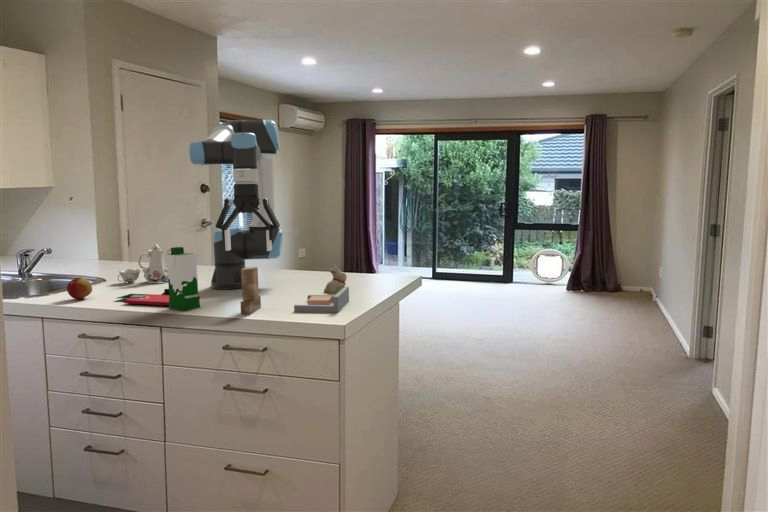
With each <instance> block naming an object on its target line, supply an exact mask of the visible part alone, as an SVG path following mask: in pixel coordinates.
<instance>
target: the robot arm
mask: <svg viewBox="0 0 768 512" xmlns="http://www.w3.org/2000/svg"><path fill="white" fill-rule="evenodd" d="M277 127H278V126H277V124H276V122H275V121H274V120H272V119H233V120H228V121H225V122H222V123H220V124H219V125H218V124H217V125H216V126H215V127H214V128H213V129H212V130H211V131H210V133H209V136H208V137H207V138H205V139H204V140H197V141H196V140H195V141H191V142H190V144H189V150H188V151H189V159H190V160H189V161H190V162H191V163H192V165H196V166H198V165H199V166H200V165H201V166H205V165H206V166H208V165H232V174H233V175H232V176H233V177H232V178H233V182H234V185H233V196H234V198H232V199H231V198H224V201H223V202H224V203H223V206H222V207H223V208H222V210H221V212H220V215H218V219H217V221H216V224H215V228H216V229H217V230H216V231H214V233H213V242H212V243H213V253H214V254H213V255H214V256H213V257H214V269H213V274H212V277H211V281H210V287H211V288H212V289H213V290H214V289H215V290H237V289H242V278H241V269H243V268H245V267H246V260H271V259H272V260H273V259H279V258H280V257H281V253H282V247H283V239H284V237H283V235H284V231H283V229H281V228H280V226H281V224H280V223H279V221H278V219H277V217H276V215H275V214H276V213H275V190H274V189H275V188H274V186H275V185H274V165H273V164H274V161H273V160H274V159H275V157H276V156H277V151H280V150H281V145H280V136H279V131H278V128H277ZM232 205H234V206H235V208H234V209H233V211H232V213H231V214H230V215H229V216H228V213H229V211H230V209H231V206H232ZM245 213H247V214H252V215H251V216H252V221H251V222H250V223H249V225H248V229H245V228H244V226H233V227H230V226H231V224H232V223H233V222H234V220H236V218H237V216H239V214H245ZM227 216H228V218H227ZM226 218H227V219H226Z"/></svg>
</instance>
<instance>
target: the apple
mask: <svg viewBox="0 0 768 512" xmlns="http://www.w3.org/2000/svg"><path fill="white" fill-rule="evenodd" d="M66 291H67V294H68V295H69V296H70V297H71V298H72V299H75V300H77V299H78V300H77V301H79V300H80V299H81V300H83V299H84V298H86V297H88V296H90V294H91V293H92V292H93V286H92V284H91V282H90V281H89V280H88V279H86V278H85V277H82V276H81V277H76V278H73V279H72V280H71V279H70V281H69V282H68V283H67V285H66Z"/></svg>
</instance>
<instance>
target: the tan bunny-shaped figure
mask: <svg viewBox="0 0 768 512" xmlns="http://www.w3.org/2000/svg"><path fill="white" fill-rule="evenodd" d="M329 273H331V275H332V280H330V281H328V282H327V283H326V285H325V287H324V289H323V292H324V293H326V294H327V293H328V294H331V293H332V294H333V293H334V294H337V293H338V292H339V291H340V290H341V289H342V288H344V287H346V285H347V283H346V281H347V278H348V277H347V274H346V273H345V272H343V271H341V269H339V267H337V266H336V265H333V267H332V268H330V269H329Z"/></svg>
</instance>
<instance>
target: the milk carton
mask: <svg viewBox="0 0 768 512" xmlns="http://www.w3.org/2000/svg"><path fill="white" fill-rule="evenodd" d="M170 249H171V250H170V254H168V255H166V254H165V255H164V258H165V259H164V260H165V265H167V269H168V282H167V284H168V289H169V305H168V308H169V309H170V310H174V311H180V312H185V311H189V310H190V311H191V310H192V309H197V308H201V303H200V299H199V286H198V284H199V283H198V261H199V254H198V253H194V252H185V250H184V249H185V248H184V247H182V246H175V247H171V248H170Z"/></svg>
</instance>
